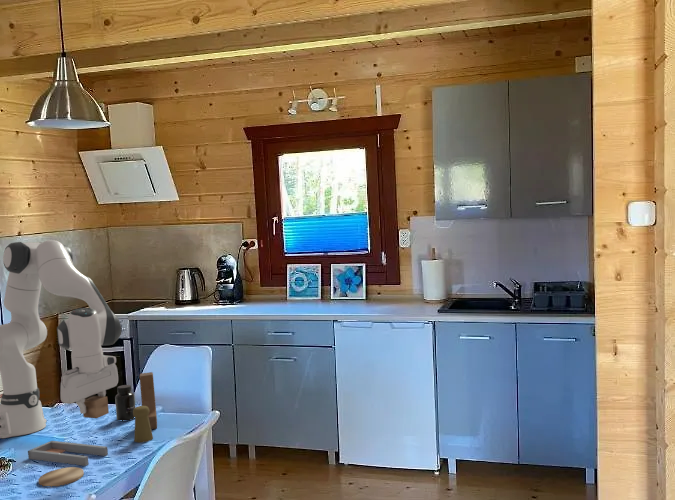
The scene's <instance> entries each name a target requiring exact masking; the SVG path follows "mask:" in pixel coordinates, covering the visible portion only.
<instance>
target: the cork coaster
mask: <svg viewBox="0 0 675 500" xmlns="http://www.w3.org/2000/svg"><path fill="white" fill-rule="evenodd" d="M84 475H85V472H84V469H83V468H81V467H75V466H72V467H70V466H69V467H62V468H57V469H54V470H53V469H52V470H51V471H48V472H46V473H44V474H42V475H40V477H39V478H38V485H40V486H41V485H42V486H41V487H44V486H51V487H50V488H53V487H52V486H56V487H61V486H60V485H62V486H66V485H68V484H69V483H70V484H72V483H75V482H77V481H79V480H81V479H82V478H83V477H84ZM81 477H82V478H81ZM65 484H66V485H65Z"/></svg>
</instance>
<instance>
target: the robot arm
mask: <svg viewBox="0 0 675 500" xmlns="http://www.w3.org/2000/svg"><path fill="white" fill-rule="evenodd" d="M2 259H3V260H2V261H3V266H4V268H5V269H6V270H7V272H9V273H8V277H7V282H6V287H5V291H4V292H5V293H4V299H3V306H4V308H5V309H6V310H7V311H9V312H10V315H11V318H10V319H11V320H10V322H7V323H4V324H0V377H1V384H2V394H0V439H6V438H7V439H8V438H13V437H18V436H24V435H28V434H33V433H36V432H39V431H40V430H43V429H45V428H46V426H47V424H46V423H47V419H46V418H45V415H44V410H43V406H42V402H41V400H40V397H41V396H40V388H39V387H38V383H37V382H38V381H37V380H38V379H37V371H36V367H35V365H34V364H32V363H30V362H28V361H27V360H26V357H25V356H24V351H27V350H30V349H34V348H36V347H38V346H39V345H41V344H42V343H43V342H45V341H46V339H47V336H48V329H47V328H48V327H46V325H45V322H44V321H42V320H41V318H40V315H39V302H40V295H41V289H42V287H43V288H44V289H45V291H46V292H48V293H50V294H52V295H55V296H58V297H66V298H67V297H68V298H75V299H79V300H82V301H84V302H85V303H87V306H89V307H81V308H75V309H73V310H71V311H70V312H69V314H68V318H66V319H63V320H62V321H61V322H60V323H59V324H58V326H57V327H56V333H57V344H58V345H59V346H60V347H62V348H63V349H65V350H67V351H71V355H70V356H71V357H70V358H71V369H68V370H65V371H64V373H63V374H62V375H61V376H60V377H61V381H60V400H61V402H62V403H63V404H74V403H75V404H76V405H77V406H78V408H79V412H80V414H82V415H83V414H85V413H87V412H88V406H85V404H84V402H85V399H88V398H90V397H93V396H95V395H96V394H97V396H105V397H106V394H107V390H110V389H112V388H115V387H118V383H119V374H118V373H119V372H118V367H117V365H116V363H117V357H116V356H113V355H105V354H104V350H103V347H102V346H111V345H112V346H113V345H114V344H115V343H116V342H117V341H118V340H119V338H120V337H121V335H122V325H121V322H120V320H119V318H118V316H117V315H116V314H115V313H114V312H113V310H111V308H110V306H109V305H108V303H107V302H106V299H104V297H103V295H102V294H101V293H100V290H99V289H98V287H97V286H96V284H95V283H94V280H92V279H91V277H89V276H87V275H85V274H83V273H81V271H79V270H78V269H77V268H76V267H75V266H74V262H73V260H74V257H73V252H72V250H71V248H70V246H68V245H64V244H63V243H62V242H60V241H58V240H56V239H55V240H54V239H47V240H44V241H39V242H34V241H29V242H28V241H27V242H22V241H15V242H11V243H9V244H8V245H7V246H6V247H5V249H4V252H3V255H2Z"/></svg>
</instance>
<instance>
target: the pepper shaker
mask: <svg viewBox="0 0 675 500" xmlns="http://www.w3.org/2000/svg"><path fill="white" fill-rule="evenodd" d="M133 415H134V417H135V418H134V436H133V439H134V440H133V442H134V443H138V444H139V443H146V442H150V441H152V440H154V436H153V431H152V429H151V427H150V422H149V418H148V415H149V408H148V407H147V406H142V405H138V406H135V408H134V410H133Z"/></svg>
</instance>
